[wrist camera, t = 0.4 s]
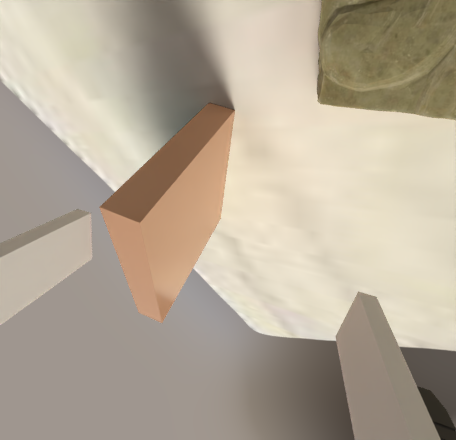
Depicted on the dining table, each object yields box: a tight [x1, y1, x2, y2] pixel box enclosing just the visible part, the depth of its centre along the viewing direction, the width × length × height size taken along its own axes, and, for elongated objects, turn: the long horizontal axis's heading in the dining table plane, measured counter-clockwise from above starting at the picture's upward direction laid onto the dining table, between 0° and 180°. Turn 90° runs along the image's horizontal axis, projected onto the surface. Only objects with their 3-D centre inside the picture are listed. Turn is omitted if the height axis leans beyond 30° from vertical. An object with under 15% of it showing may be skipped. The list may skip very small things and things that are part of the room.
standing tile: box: [100, 103, 235, 323], centre depth 23 cm, size 14×3×14 cm, turn 174°
